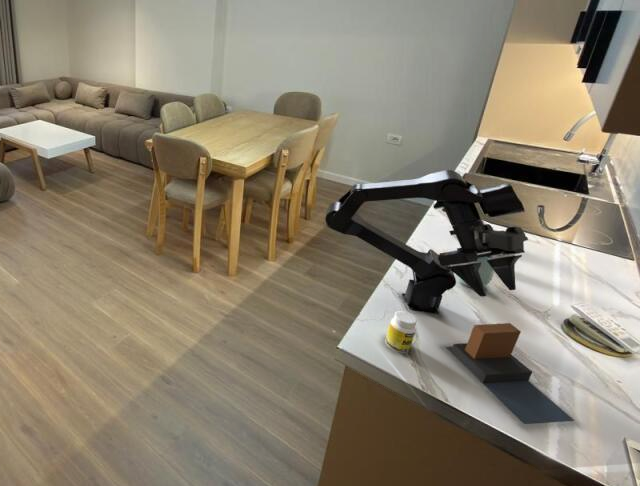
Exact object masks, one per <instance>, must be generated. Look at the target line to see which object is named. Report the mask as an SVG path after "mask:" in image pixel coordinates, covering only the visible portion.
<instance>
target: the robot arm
mask: <svg viewBox="0 0 640 486" xmlns="http://www.w3.org/2000/svg"><path fill="white" fill-rule="evenodd" d="M408 199H426V200H430V201H435V203H434V205H433V206H432V207H433V209H435V210H440V209H443V210H444V212H445V213H446V216H447V219H448V221H449V223H450V225H451V228H452V230H449V234H450V236H454V235H455V237H456V239H457V242H458V244H459V246H460V247H457V248H456V250H451V251H445V252H439V253H437V252H436V251H434V250H433V249H430V248H429V250H428V251H427V252H423V251H418V250H416V249H415V248H413V247H411V246H410V245H408V244H407V243H404V242H403V241H401V240H399V239H397V238H395V237H394V236H392V235H390V234H389V233H386V232H384V231H383V230H382V229H379V228H378V227H376V226H374V225H372V224H371V223H369V222H367V221H366V220H364V218H363V217H361V216H360V215H359V213H358V210H359V209H360V208H361V207H362V206H363V204H364V203H366V202H379V201H380V202H381V201H393V200H408ZM476 204H478V205H479V209H480V210H481V212H482V214H483V216H486V215H487V216H488V218H491V219H495V218H500V217H506V216H511V215H515V214H522V213H526V210H525V207H524V204H523V202H522V201H521V199H520V198H519V197H518V195H517V193H516V191H515V190H514V187H513V186H512V184H511V183H510V182H505V183H502V184H501V183H500V184H499V185H496V186H492V187H487V188H483V189H479V187H478V186H477V185H475V184H473V183H471V182H469V181H467V180H465V179H464V177H463V176H462V175H461V174H460V173H459V172H458V171H455V170H452V169H444V170H440V171H437V172H431V173H429V174H426V175H424V176H421V177H418V178H414V179H413V178H412V179H403V180H393V181H383V182H381V181H380V182H371V183H357V184H356V183H355V184H354V185H352V186H351V187H350V189H349V190H347V191H346V192H345V193H344V194H342V196H340V198H339V199H338V200H337V201H334V202H331V203H330V204H328V206H327V209H326V214H325V219H324V220H325V223H326V226H327V227H328V228H329V229H330V230H333V231H336V232H338V233H339V234H342V235H347V236H353V237H357V238H358V239H359V240H362V241H363V242H366V243H367V244H368V245H370V246H372V247H374V248H375V249H377V250H379V251H381V252H383V253H384V254H386V255H388V256H389V257H391V258H393V259H395V260H396V261H398V262H400V263H401V264H403V265H405V266H406V267H408V268H410V269H411V271H412V277H413V279H409V280H408V283H407V286H406V290H405V292H404V293H401V297H402V299H403V300H404V303H406V305H407V307H408V309H409V310H411V311H416V312H420V313H421V312H422V313H427V314H432V315H433V314H434V315H439V314H440V312H439V311H438V309H439V308H440V306H441V303H442V299H443V295H444V294H445V293H446V291H451V290H452V289H453V288H454V287H455V286H456V284H457V280H456V277H457V276H458V277H460V278H461V279H462V280H463V281H464V282H465V283H466V284H467V285H469V286H470V287H469V286H468V287H469V288H470V289H471V290H473V292H475V293H476V294H477V295H478V297H481V298H482V297H486V296H487V292H486V289H485V287H484V286H483V283H482V280H481V277H480V274H479V271H478V270H479V268H480V266H481V262H480V263H475V261H478V258H481V257H486V256H487V257H491V259H488V260H486V261H487V262H488V263H489V265H490V266H491V267H492V269H493V270H494V271H495V274H496V275H497V277H498V278H499V280H500V281H501V282H502V283H503V284H504V285H505V287H506V288H507V289H508V290H509V291H515V290H516V289H517V287H516V273H515V272H516V271H515V268H516V266H515V265H516V263H517V261H518V260H519V259H520V258H522V257H523V254H525V253H526V251H525V246H524V243H525V242H526V241H528V240H529V238H528V236H526V233H525V232H524V230H523V228H522V227H521V226H508V227H506V229H505V230H495V229H494V227H493V228H492V226H493V225H492V224H491V225H492V226H491V225H489V224H490V223H489V224H484V223H483V221H484V220H483V218H482V216H481V213H480V212H479V210H478V208H477V206H476ZM482 220H483V221H482Z"/></svg>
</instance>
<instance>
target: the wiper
mask: <svg viewBox="0 0 640 486" xmlns="http://www.w3.org/2000/svg"><path fill="white" fill-rule="evenodd" d="M521 332H522V331H521V330H520V329H518V328H517V327H516V326H514V325H513V324H512V323H510V322H505V323H487V324H474V325H473V328H472V331H471V333H470V335H469V338H468V340H467V342H466V343H465V342H464V343H453V344H452V346H451V347H452V350H451V352H450V353H451V355H452V356H453V357H454V358H456V359H457V361H459V362H460V363H461V364H462V365H463V366H464V367H465V368H466V369H467V368H468V369H469V370H470V371H471V372H472V373H473V374H474V375H475V376H476V377H477V378H478V379H479V380H480V381H481V382H482V383H496V382H513V381H530V378H531V377H532V374H533V371H532V370H531V369H529V367H527V366H526V364H524V363H523V362H521V360H519V359H517V358H516V357H515V355H513V354H512V353H513V351H514V349H515V347H516V344H517V342H518V339H519V338H520V335H521ZM468 369H467V370H468ZM469 370H468V371H469ZM470 371H469V372H470ZM471 372H470V373H471ZM472 373H471V374H472ZM473 374H472V375H473ZM474 375H473V376H474ZM475 376H474V377H475ZM476 377H475V378H476ZM477 378H476V379H477ZM478 379H477V380H478ZM479 380H478V381H479ZM480 381H479V382H480ZM481 382H480V383H481ZM482 383H481V384H482Z"/></svg>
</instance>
